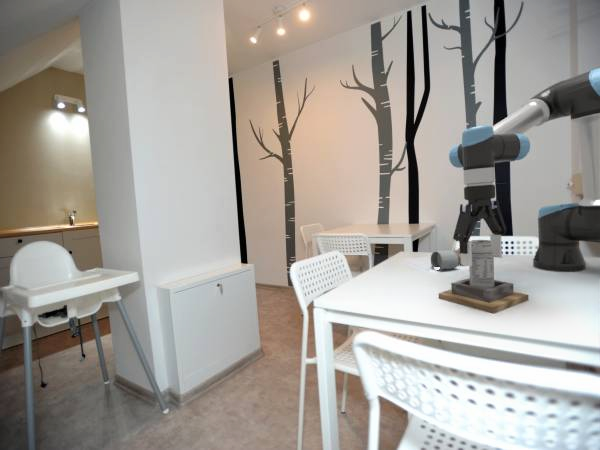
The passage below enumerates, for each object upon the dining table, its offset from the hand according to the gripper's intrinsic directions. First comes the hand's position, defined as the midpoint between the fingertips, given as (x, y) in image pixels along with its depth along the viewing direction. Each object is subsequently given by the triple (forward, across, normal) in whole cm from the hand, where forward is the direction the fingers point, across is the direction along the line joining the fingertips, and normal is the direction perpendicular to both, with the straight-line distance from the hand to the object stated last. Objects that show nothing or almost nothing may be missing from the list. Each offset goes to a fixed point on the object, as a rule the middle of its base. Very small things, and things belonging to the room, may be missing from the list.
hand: (481, 261), depth 91 cm
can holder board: (+11, 0, 0) cm, 11 cm away
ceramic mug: (+11, -23, -31) cm, 40 cm away
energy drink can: (+9, 0, 0) cm, 10 cm away
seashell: (+12, -37, -32) cm, 51 cm away
